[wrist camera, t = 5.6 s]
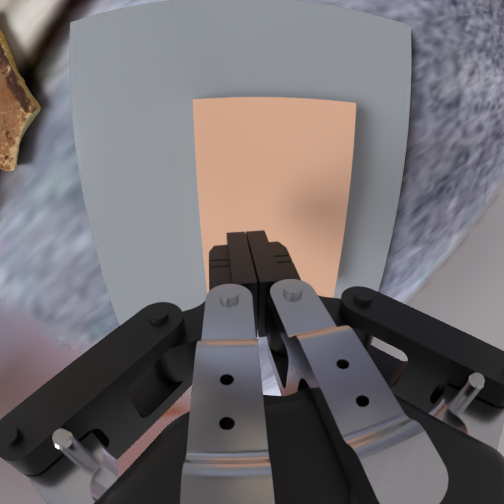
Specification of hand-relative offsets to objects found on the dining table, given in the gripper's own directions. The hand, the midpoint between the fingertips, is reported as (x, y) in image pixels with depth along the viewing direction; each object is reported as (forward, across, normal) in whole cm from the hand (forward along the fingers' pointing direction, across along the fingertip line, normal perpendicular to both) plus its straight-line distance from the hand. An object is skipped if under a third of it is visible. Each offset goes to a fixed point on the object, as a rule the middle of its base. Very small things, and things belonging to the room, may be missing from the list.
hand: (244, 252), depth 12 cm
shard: (+8, +17, -9) cm, 21 cm away
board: (+7, -1, -1) cm, 7 cm away
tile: (+5, +2, 0) cm, 5 cm away
